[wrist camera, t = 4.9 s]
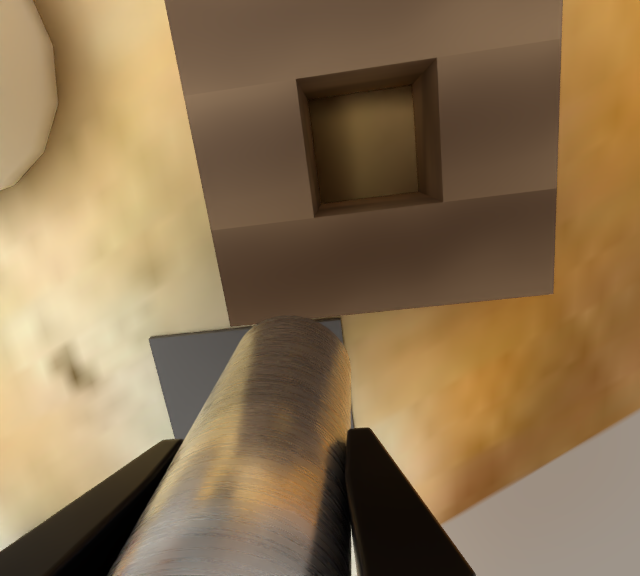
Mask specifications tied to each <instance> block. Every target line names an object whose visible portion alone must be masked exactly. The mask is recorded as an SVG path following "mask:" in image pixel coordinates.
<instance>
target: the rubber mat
mask: <svg viewBox="0 0 640 576" xmlns="http://www.w3.org/2000/svg"><path fill="white" fill-rule="evenodd" d="M315 321H317V322H319V323H321V324H323V325H324V326H326V327H327V328H329V329H330V330H331V331H332V332H333V333H334V334H335V335H336V336H337V337H338V338H339V339H340V341H341V342H342V344H343V336H342V327H341V319H340V318H334V319H324V320H315ZM251 328H252V327H245V328H235V329H225V330H215V331H205V332H195V333H185V334H175V335H165V336H155V337H151V338H149V342H150V346H151V350H152V354H153V357H154V361H155V365H156V369H157V373H158V376H159V380H160V384H161V388H162V391H163V395H164V399H165V403H166V407H167V410H168V414H169V418H170V422H171V425H172V429H173V433H174V437H175V439H183V440H184V439H185V437H186V436H187V434H188V432H189V430H190V429H191V427H192V425H193V423H194V422H195V420H196V418H197V416H198V414H199V413H200V411H201V409H202V407H203V406H204V404H205V402H206V400H207V399H208V397H209V395H210V393H211V392H212V390H213V388H214V386H215V385H216V383H217V381H218V379H219V378H220V376H221V374H222V372H223V371H224V369H225V367H226V365H227V364H228V362H229V360H230V358H231V357H232V355H233V353H234V351H235V350H236V348H237V346H238V344H239V342H240V341H241V339H242V338H243V336H244V335H245V334H246V333H247V332H248V331H249V330H250V329H251ZM343 345H344V344H343ZM352 428H354V426H353V418H352V410H351V429H352Z"/></svg>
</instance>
